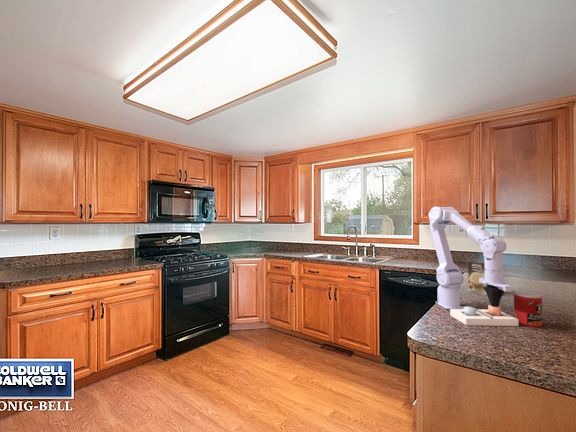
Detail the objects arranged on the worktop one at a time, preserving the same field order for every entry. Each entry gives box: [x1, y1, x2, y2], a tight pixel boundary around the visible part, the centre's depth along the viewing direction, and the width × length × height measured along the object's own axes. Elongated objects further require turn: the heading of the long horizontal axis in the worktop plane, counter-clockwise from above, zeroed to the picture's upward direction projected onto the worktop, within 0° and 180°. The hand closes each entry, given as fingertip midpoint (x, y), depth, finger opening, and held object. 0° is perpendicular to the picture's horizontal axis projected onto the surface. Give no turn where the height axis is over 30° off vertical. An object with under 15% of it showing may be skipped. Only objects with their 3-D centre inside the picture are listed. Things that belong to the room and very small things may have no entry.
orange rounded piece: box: [487, 304, 502, 316], centre depth 105 cm, size 4×4×4 cm
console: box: [449, 308, 520, 327], centre depth 106 cm, size 11×18×3 cm, turn 87°
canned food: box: [513, 290, 543, 328], centre depth 102 cm, size 8×8×11 cm
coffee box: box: [467, 260, 487, 296], centre depth 146 cm, size 9×6×16 cm
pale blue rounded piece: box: [463, 305, 477, 316], centre depth 106 cm, size 4×4×4 cm
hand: (494, 306), depth 105 cm, fingers closed, pressing on orange rounded piece
